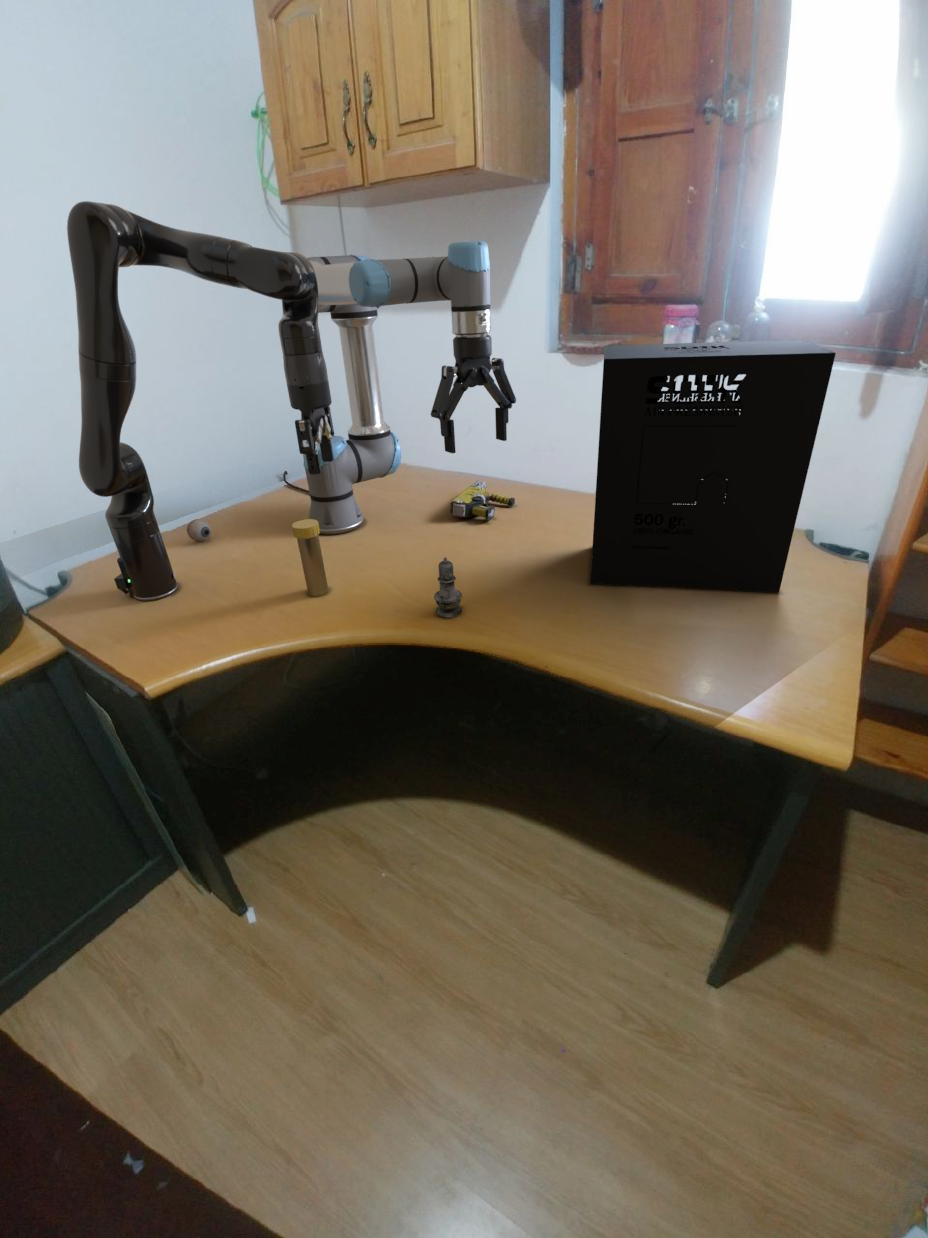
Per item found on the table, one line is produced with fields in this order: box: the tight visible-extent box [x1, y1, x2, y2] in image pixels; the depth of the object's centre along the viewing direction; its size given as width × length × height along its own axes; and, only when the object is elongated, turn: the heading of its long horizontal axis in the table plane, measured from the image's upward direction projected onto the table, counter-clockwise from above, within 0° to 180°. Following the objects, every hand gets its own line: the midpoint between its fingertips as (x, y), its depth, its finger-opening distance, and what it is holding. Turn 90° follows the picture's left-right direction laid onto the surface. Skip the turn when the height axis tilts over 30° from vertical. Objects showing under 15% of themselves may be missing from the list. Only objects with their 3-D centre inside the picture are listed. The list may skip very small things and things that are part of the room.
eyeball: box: [186, 518, 212, 542], centre depth 162 cm, size 6×6×6 cm
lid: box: [291, 518, 320, 539], centre depth 127 cm, size 6×6×2 cm
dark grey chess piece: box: [433, 556, 463, 618], centre depth 120 cm, size 6×6×12 cm
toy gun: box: [449, 480, 516, 522], centre depth 174 cm, size 5×24×15 cm
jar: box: [296, 535, 329, 597], centre depth 130 cm, size 4×4×16 cm
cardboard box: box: [590, 338, 837, 594], centre depth 124 cm, size 38×20×45 cm, turn 78°
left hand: (322, 467), depth 118 cm, fingers open, 8 cm apart
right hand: (476, 445), depth 127 cm, fingers open, 13 cm apart
